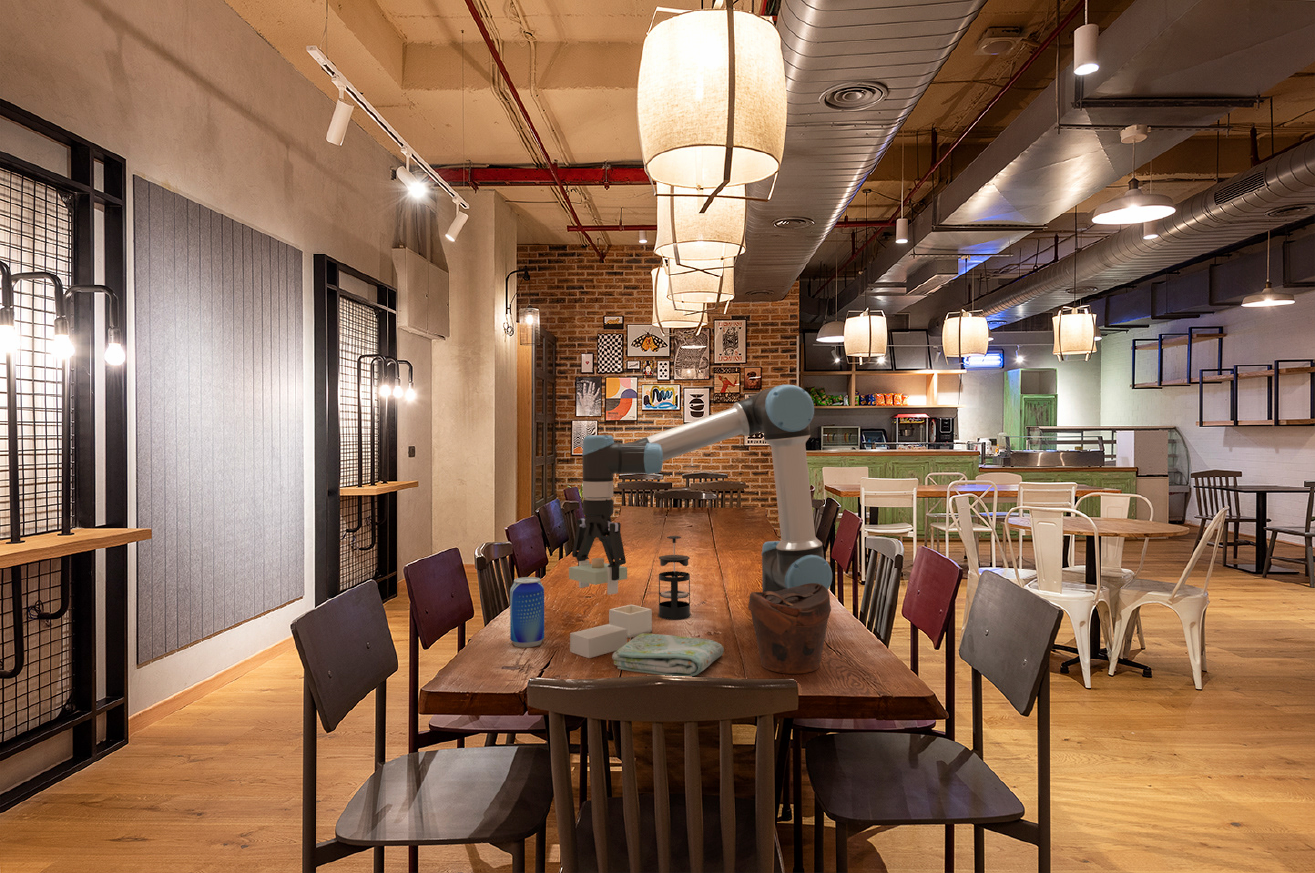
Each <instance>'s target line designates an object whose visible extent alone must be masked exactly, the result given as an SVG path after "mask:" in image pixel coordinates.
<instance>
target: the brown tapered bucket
mask: <svg viewBox="0 0 1315 873" xmlns="http://www.w3.org/2000/svg"><path fill="white" fill-rule="evenodd" d="M830 596H831V595H830V592H829V589H828V590H827V589H826V587H825V586H823V585H821V584H818V583H809V584H804V585H800V586H797V587H792V588H787V589H784V590H780V591H775V592H772V591H767V592H762V591H761V592H760V591H752V592H750V594H749V600H748V607H747V608H748V611H750V613H751V618H752V623H753V629H754V634H755V638H756V643H757V647H758V652H759V657H760V658H759V659H760V664H761V667H763V669H765V670H768V671H771V672H775V673H779V674H791V675H792V674H793V675H794V674H795V675H796V674H798V675H799V674H806V673H812V672H814V671H817V670H818V669H819V668H820V665H821V660H822V654H823V649H824V645H825V644H824V643H825V638H826V633H827V627H828V620H829V618H830V615H831V611H832V605H831V599H830V598H831V597H830Z"/></svg>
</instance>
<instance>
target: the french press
mask: <svg viewBox="0 0 1315 873" xmlns="http://www.w3.org/2000/svg"><path fill="white" fill-rule="evenodd" d="M666 538H667V539H669V540H670V539H671V540H672V541H671V542H672V544H673V554H668V555H667V554H665V555H661V556H660V555H659V556H658V559H659V561H660V562H659V563H660V564H659V565H660V566H661V567H665V566H666V565H667V564H669V563H673V570H671V571H663V572H659V573H658V614H657V616H658V618H661V619H663V620H671V621H676V620H677V621H679V620H684V619H685V620H687V619H689V618H690V617H691V616H692V615H691V590H690V589H691V586H690V585H691V578H690V577H691V574H690V573H689V572H686V571H678V570H676V563H679V564H680V565H682V566H683V567H687V566H689V560H690V559H691V558H690V556H687V555H683V554H682V555H681V554H676V551H675V550H676V546H675V545H676V543H677V542H676V541H677V539H682V536H679V535H668V536H666ZM661 581H662V582H667V583H669V582H670V590H664V591H661ZM686 581H688V592H687V591H684V590H679V582H686ZM661 597H662V598H664V599H668V601H667V600H664V601H662V602H661ZM684 598H685V599H686V598H688V602H687V601H682V600H679V599H684ZM669 599H670V600H669Z"/></svg>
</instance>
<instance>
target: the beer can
mask: <svg viewBox="0 0 1315 873" xmlns="http://www.w3.org/2000/svg"><path fill="white" fill-rule="evenodd" d="M509 609H510V610H509V615H510V616H509V622H510V624H509V628H510V629H509V634H510V635H509V636H510V641H511V643H512V644H513V646H514V647H517V648H533V647H537V646H540V645H541V644H542V642H543V641H544V639H545V587H544V585H543V584H542V582H541V578H540V577H533V576H525V577H523V576H522V577H517V578H514V580H513V584H512V585H511V587H510V590H509Z"/></svg>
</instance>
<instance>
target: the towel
mask: <svg viewBox="0 0 1315 873" xmlns="http://www.w3.org/2000/svg"><path fill="white" fill-rule="evenodd" d="M724 651H725V649H724V646H723V645H722V644H721V643H719V642H717V641H715V640H712V639H709V638H702V637H689V636H688V637H687V636H680V635H670V634H658V633H655V634H654V633H645V634H640V635H638V636H636V637H632V638H631V639H630V640H629V641H627V643H626V644H625V645H624V646H623V647H621V648H619V649H618V650H616V651H613V653H612V654H611V658H612V660H613V665H614V666H617V669H618V670H623V671H628V672H635V673H642V674H643V673H645V674H650V675H659V676H660V675H661V676H665V675H672V676H671V677H673V676H692V677H695V676H697V675H699V674H701V673H702V672H703V671H704V670H706V669H707V668H708V667H710V665H711V664H713V663H714V662H715V661H717V659H719V658H721V656H723V654H724Z"/></svg>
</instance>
